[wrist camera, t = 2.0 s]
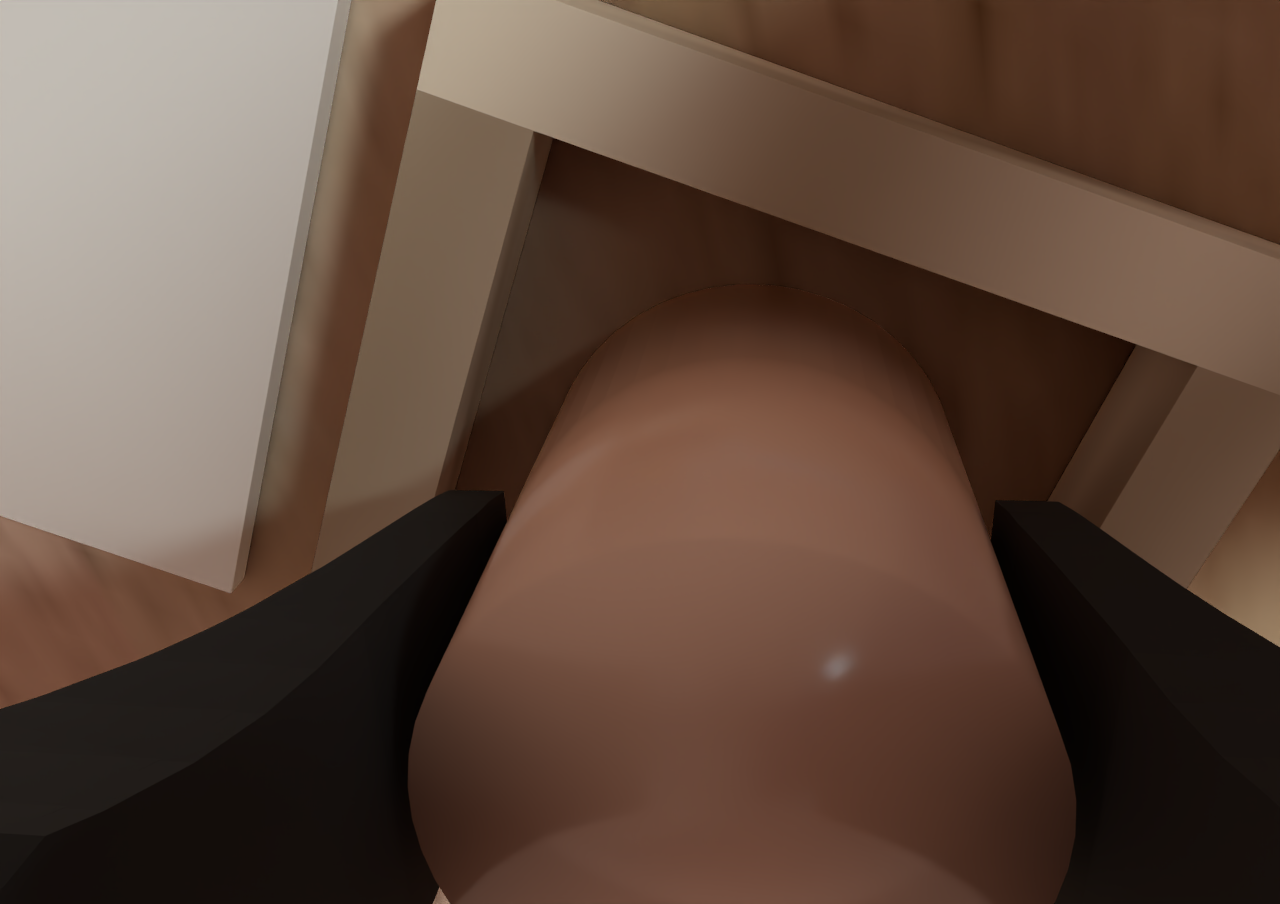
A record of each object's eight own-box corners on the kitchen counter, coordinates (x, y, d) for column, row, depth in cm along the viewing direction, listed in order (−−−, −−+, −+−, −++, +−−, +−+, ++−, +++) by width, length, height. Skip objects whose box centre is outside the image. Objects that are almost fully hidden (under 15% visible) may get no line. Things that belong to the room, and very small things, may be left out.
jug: (1026, 367, 13) (1214, 682, 7) (810, 778, 15) (827, 1224, 10) (620, 225, 12) (498, 436, 7) (479, 667, 15) (316, 1059, 10)
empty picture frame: (1310, 256, 12) (1382, 296, 10) (938, 853, 16) (954, 938, 14) (484, -41, 11) (444, -40, 10) (324, 647, 15) (280, 713, 14)
